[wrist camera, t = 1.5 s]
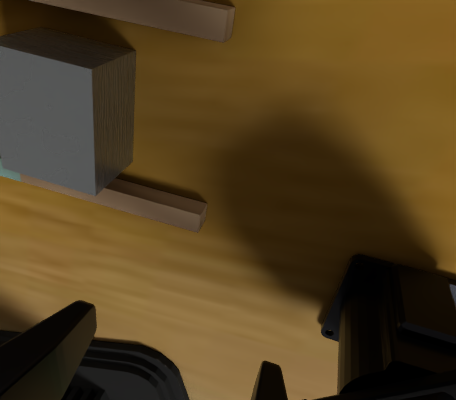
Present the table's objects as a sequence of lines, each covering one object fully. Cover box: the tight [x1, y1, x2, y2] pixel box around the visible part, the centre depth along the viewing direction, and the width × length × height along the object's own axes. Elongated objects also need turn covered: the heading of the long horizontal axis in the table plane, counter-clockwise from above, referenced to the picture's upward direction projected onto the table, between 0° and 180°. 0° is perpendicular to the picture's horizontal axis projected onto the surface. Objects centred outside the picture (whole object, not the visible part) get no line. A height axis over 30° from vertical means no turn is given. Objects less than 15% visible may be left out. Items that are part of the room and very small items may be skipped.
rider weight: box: [0, 27, 136, 196], centre depth 19 cm, size 6×5×4 cm
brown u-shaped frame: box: [0, 0, 235, 233], centre depth 19 cm, size 11×20×3 cm, turn 81°
